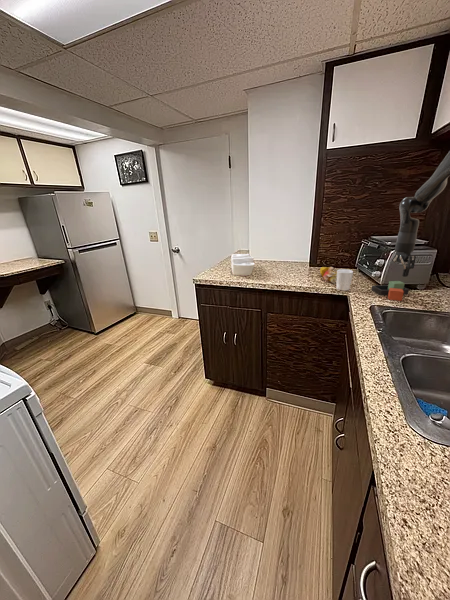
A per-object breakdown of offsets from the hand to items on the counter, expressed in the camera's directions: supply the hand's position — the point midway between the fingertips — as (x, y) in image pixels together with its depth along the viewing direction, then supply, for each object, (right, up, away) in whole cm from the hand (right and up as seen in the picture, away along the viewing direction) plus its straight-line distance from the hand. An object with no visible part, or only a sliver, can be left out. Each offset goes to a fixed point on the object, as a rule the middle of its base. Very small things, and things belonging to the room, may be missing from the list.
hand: (398, 274), depth 124 cm
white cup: (-23, -7, +11) cm, 27 cm away
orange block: (-6, -12, -5) cm, 15 cm away
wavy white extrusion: (-75, +9, +57) cm, 95 cm away
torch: (-24, 0, +29) cm, 37 cm away
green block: (0, -8, +3) cm, 9 cm away
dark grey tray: (-3, -9, +4) cm, 10 cm away
